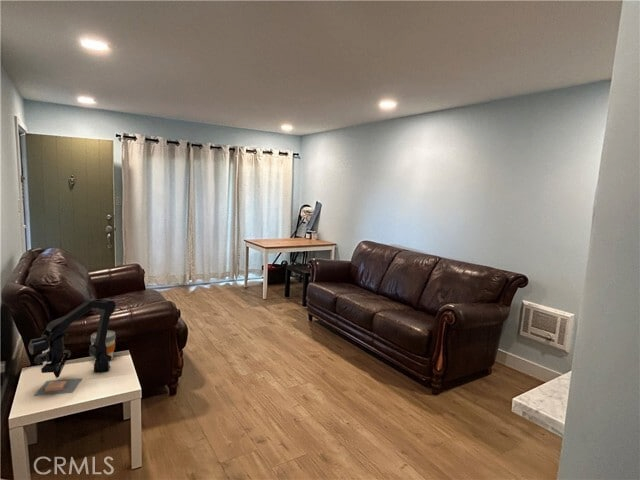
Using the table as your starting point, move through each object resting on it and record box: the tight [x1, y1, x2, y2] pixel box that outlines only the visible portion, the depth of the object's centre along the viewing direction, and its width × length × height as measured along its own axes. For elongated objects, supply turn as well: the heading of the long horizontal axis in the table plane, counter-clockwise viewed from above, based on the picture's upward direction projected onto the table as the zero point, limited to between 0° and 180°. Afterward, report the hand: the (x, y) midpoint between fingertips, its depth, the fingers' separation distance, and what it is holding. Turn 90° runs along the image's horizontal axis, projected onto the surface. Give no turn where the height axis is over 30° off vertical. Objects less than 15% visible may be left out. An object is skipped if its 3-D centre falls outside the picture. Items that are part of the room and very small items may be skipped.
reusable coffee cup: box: [90, 329, 117, 361], centre depth 210 cm, size 13×13×15 cm
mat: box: [33, 377, 83, 397], centre depth 180 cm, size 16×14×1 cm
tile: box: [45, 381, 67, 392], centre depth 179 cm, size 7×2×6 cm
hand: (57, 377), depth 180 cm, fingers closed
